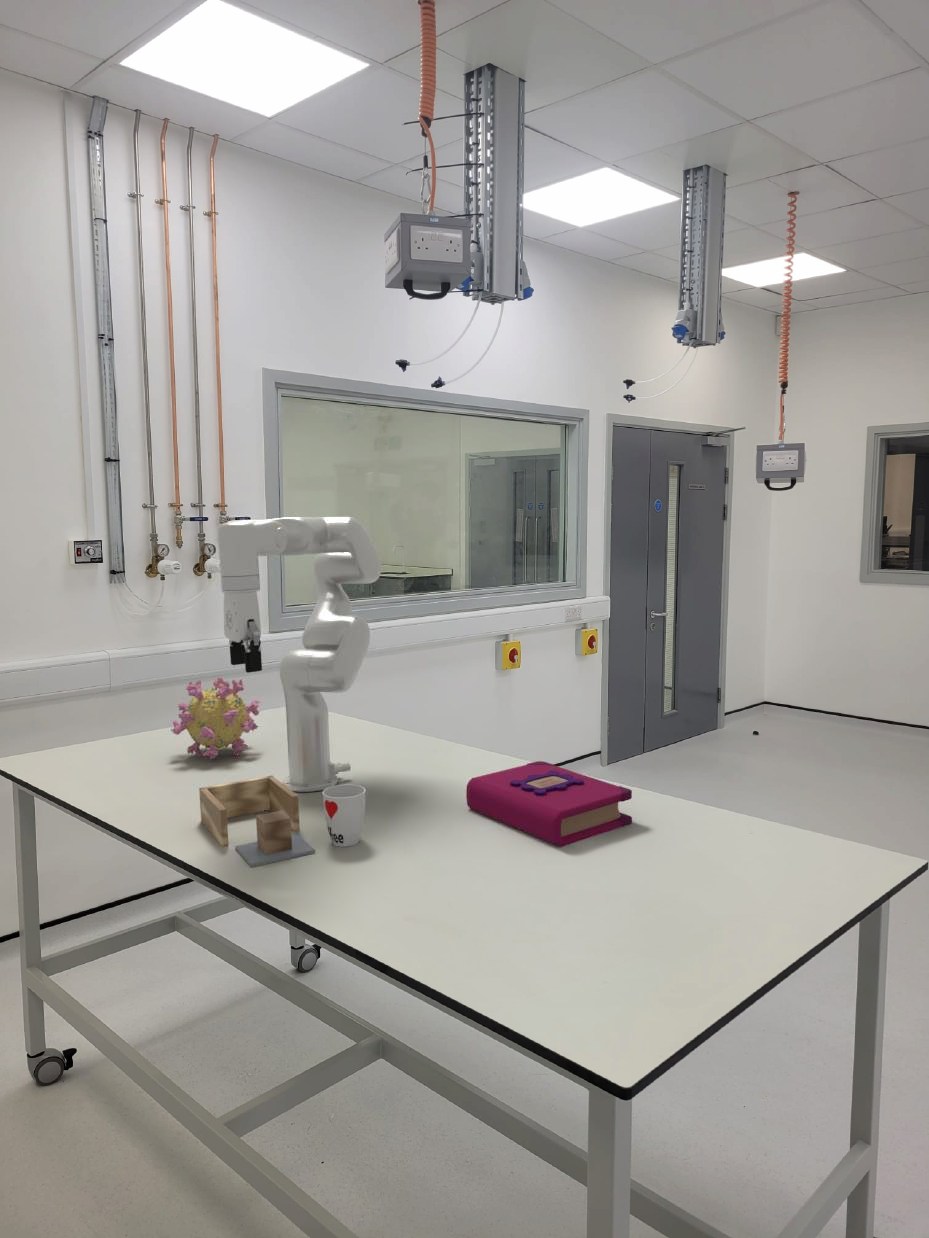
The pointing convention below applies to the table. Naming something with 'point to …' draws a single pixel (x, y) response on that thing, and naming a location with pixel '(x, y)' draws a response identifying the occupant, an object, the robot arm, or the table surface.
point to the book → (549, 802)
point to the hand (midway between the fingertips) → (246, 667)
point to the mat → (257, 857)
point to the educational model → (216, 717)
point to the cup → (344, 813)
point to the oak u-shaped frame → (245, 803)
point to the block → (274, 832)
